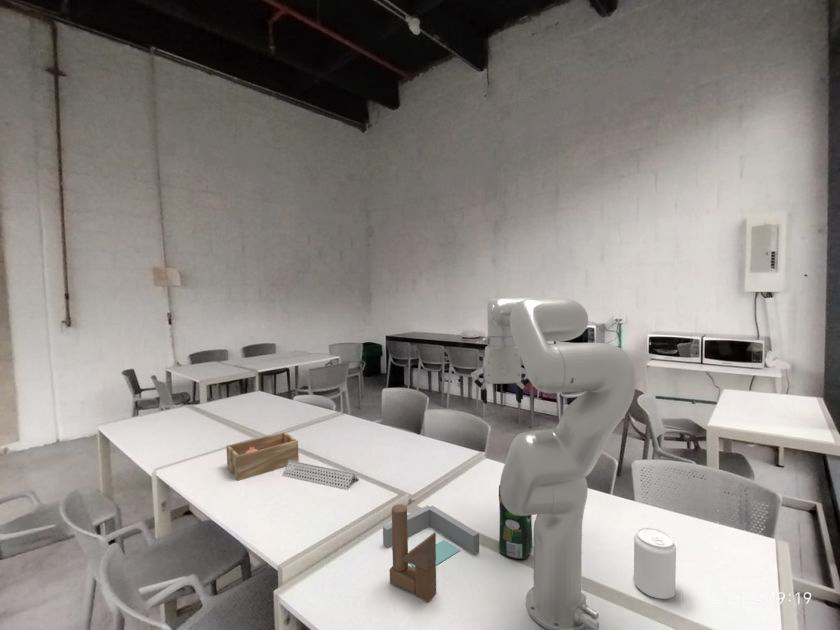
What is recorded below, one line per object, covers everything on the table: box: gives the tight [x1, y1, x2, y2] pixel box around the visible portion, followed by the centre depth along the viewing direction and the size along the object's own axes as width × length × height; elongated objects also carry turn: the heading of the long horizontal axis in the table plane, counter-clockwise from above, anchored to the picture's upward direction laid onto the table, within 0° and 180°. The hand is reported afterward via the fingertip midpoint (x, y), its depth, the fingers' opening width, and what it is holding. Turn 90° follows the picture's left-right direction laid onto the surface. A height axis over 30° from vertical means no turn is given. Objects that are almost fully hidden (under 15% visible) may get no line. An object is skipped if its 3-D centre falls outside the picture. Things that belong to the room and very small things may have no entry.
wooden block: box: [389, 503, 437, 603], centre depth 91 cm, size 4×11×18 cm, turn 57°
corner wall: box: [382, 505, 480, 556], centre depth 105 cm, size 19×17×5 cm
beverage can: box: [633, 527, 677, 600], centre depth 90 cm, size 8×8×12 cm
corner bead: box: [282, 460, 360, 491], centre depth 147 cm, size 29×9×5 cm, turn 66°
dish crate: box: [226, 431, 300, 482], centre depth 158 cm, size 14×23×9 cm, turn 130°
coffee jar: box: [498, 484, 533, 560], centre depth 104 cm, size 10×8×19 cm
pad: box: [408, 539, 461, 568], centre depth 102 cm, size 6×13×1 cm, turn 130°
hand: (501, 402), depth 113 cm, fingers open, 9 cm apart
